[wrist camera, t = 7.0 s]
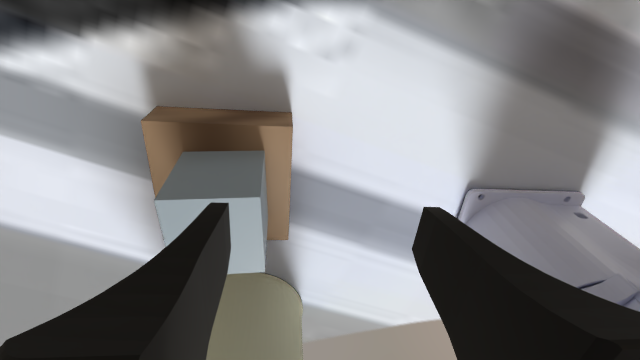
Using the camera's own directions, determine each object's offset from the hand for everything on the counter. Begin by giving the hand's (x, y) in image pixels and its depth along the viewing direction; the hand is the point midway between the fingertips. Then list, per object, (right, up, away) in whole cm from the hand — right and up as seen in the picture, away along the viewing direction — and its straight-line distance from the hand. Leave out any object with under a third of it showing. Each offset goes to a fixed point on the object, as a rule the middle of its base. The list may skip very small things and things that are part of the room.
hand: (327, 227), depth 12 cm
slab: (-6, +3, +10) cm, 12 cm away
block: (-6, +1, +8) cm, 10 cm away
